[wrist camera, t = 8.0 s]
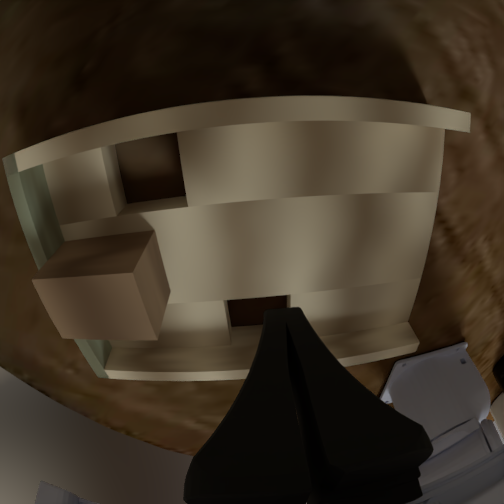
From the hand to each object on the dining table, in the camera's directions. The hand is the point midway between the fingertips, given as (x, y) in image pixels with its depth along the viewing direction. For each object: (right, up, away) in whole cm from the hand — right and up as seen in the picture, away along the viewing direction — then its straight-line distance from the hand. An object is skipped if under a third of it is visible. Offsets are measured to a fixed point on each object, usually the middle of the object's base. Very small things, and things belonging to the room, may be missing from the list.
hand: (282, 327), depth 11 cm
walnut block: (-9, +2, +5) cm, 10 cm away
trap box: (-1, +4, +6) cm, 7 cm away
